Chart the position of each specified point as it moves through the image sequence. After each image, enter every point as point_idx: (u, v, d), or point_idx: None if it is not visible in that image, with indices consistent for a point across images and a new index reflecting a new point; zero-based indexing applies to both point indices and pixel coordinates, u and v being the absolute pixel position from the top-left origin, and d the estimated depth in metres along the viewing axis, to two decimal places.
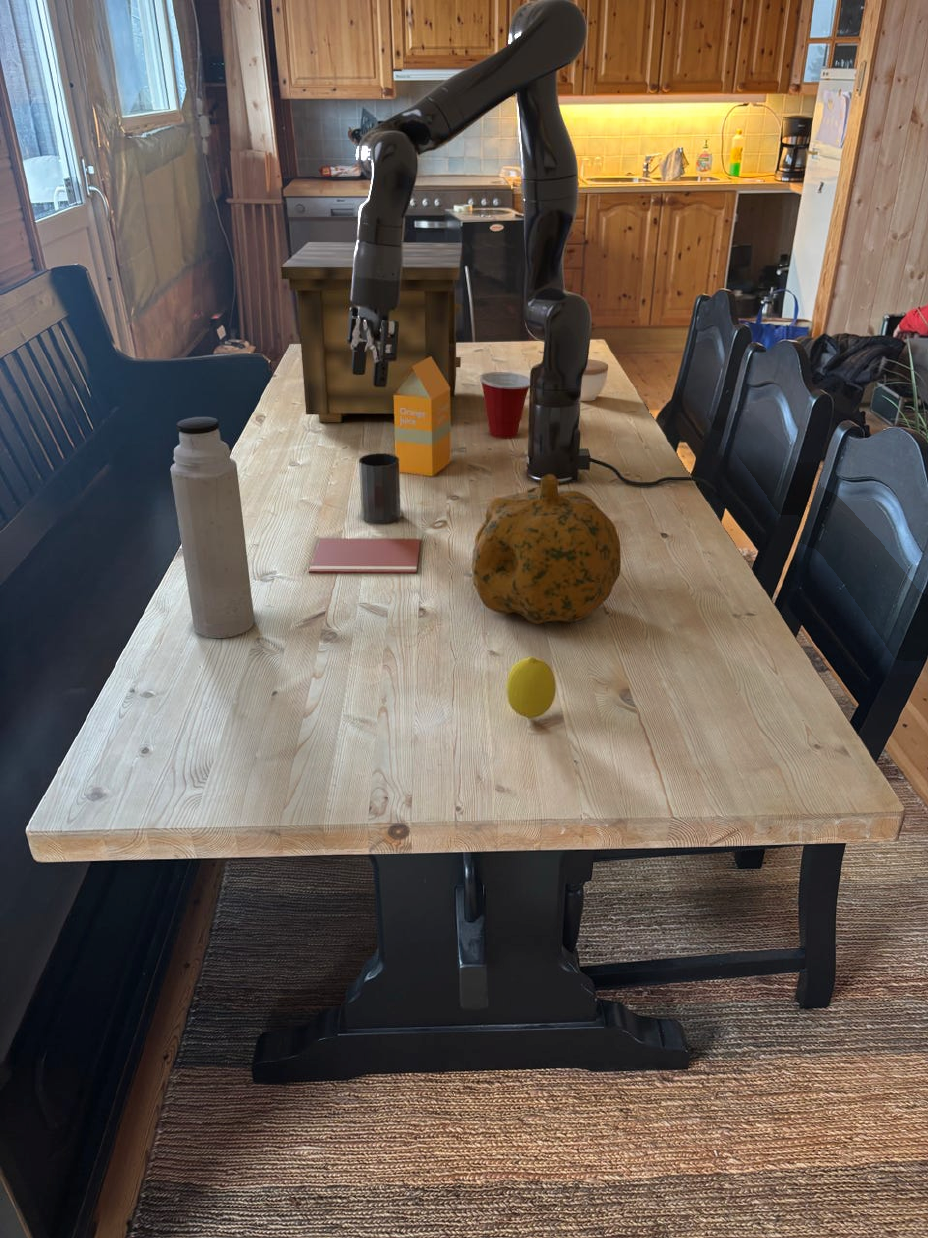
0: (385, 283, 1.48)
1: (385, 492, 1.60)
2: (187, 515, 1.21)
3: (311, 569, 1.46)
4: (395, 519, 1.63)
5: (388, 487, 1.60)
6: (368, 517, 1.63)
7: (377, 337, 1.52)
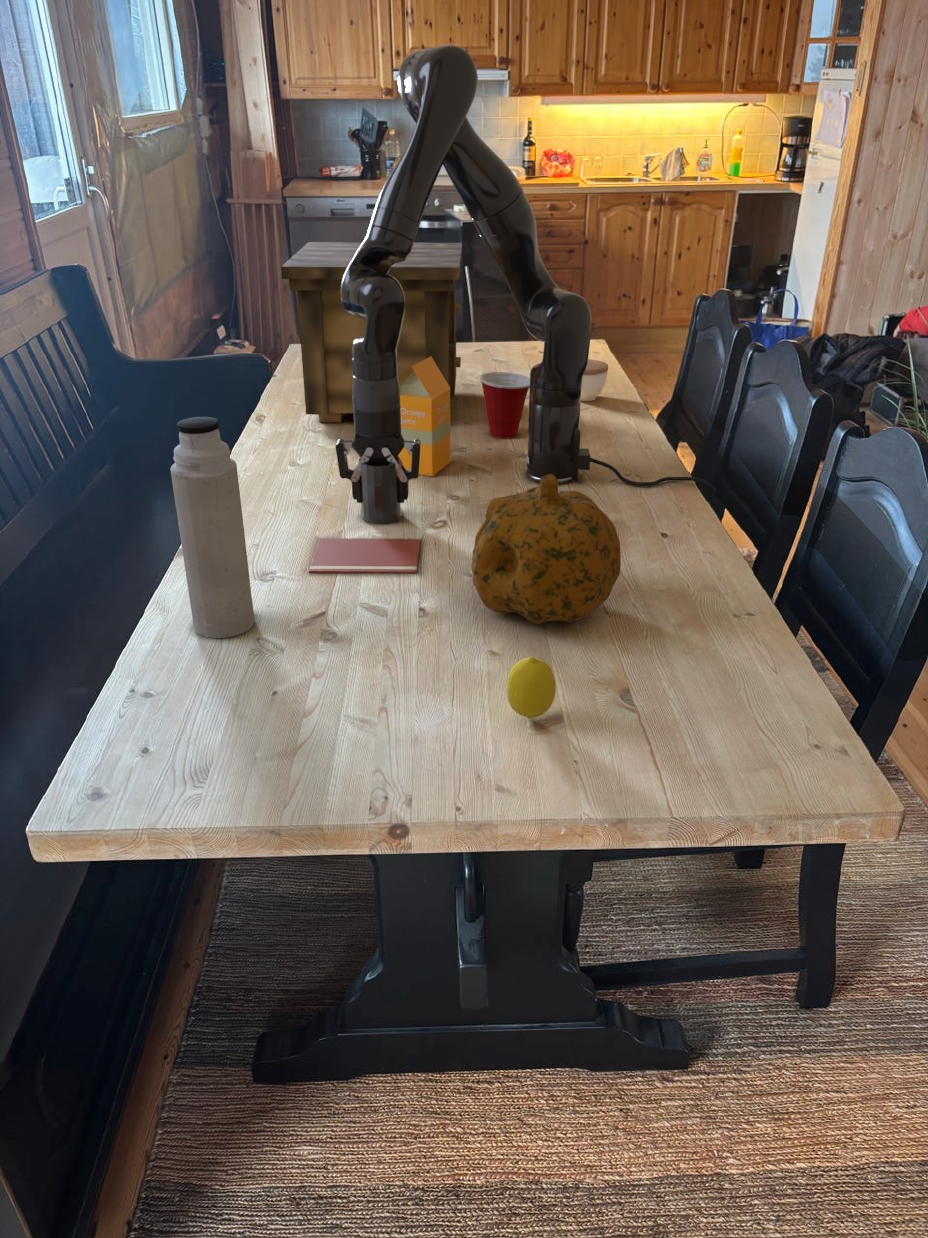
0: None
1: (385, 492, 1.60)
2: (187, 515, 1.21)
3: (311, 569, 1.46)
4: (395, 519, 1.63)
5: (388, 487, 1.60)
6: (368, 517, 1.63)
7: (396, 457, 1.60)
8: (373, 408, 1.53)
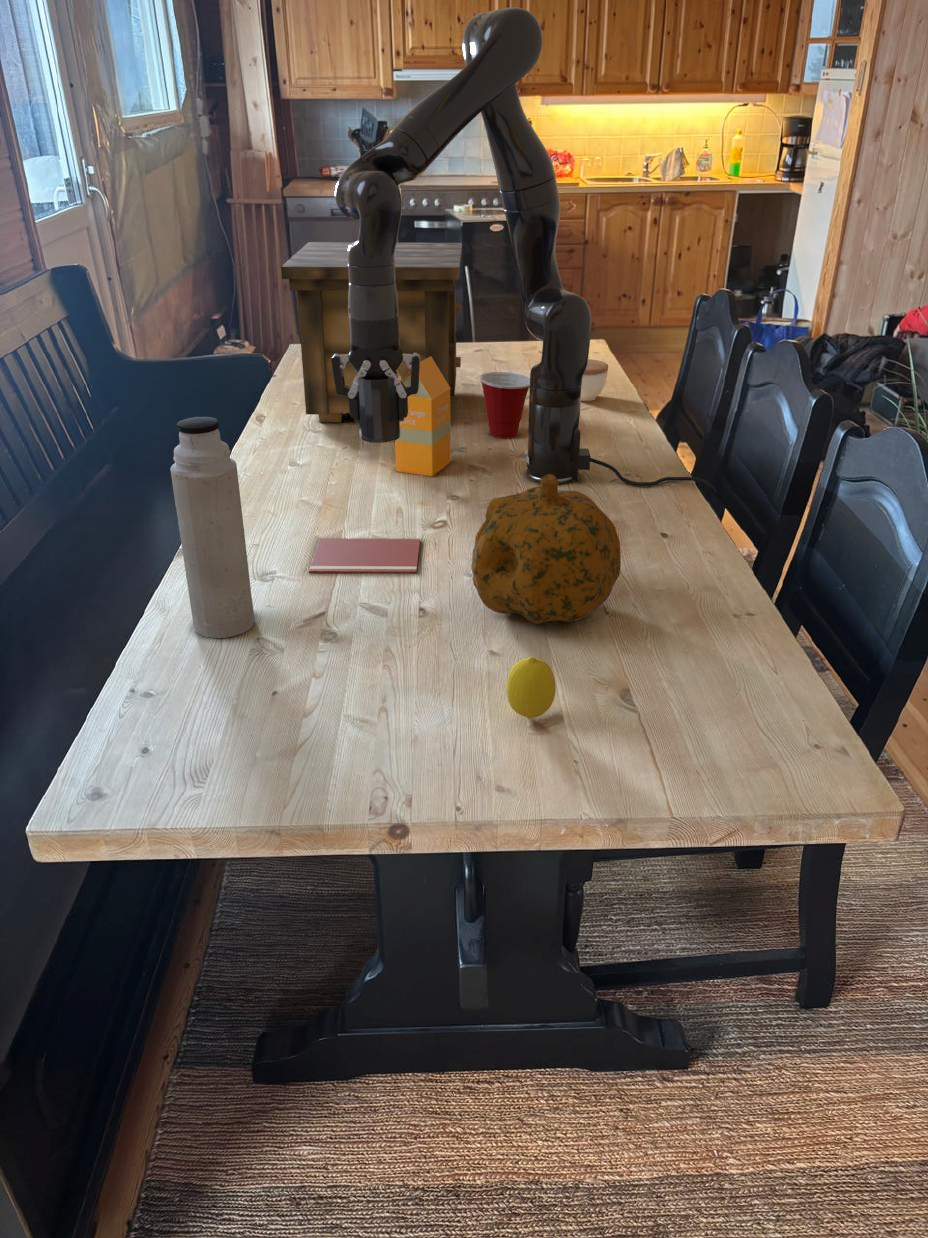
0: (398, 318, 1.49)
1: (383, 408, 1.53)
2: (187, 515, 1.21)
3: (311, 569, 1.46)
4: (394, 438, 1.57)
5: (387, 403, 1.53)
6: (366, 436, 1.56)
7: (394, 372, 1.53)
8: (370, 316, 1.46)
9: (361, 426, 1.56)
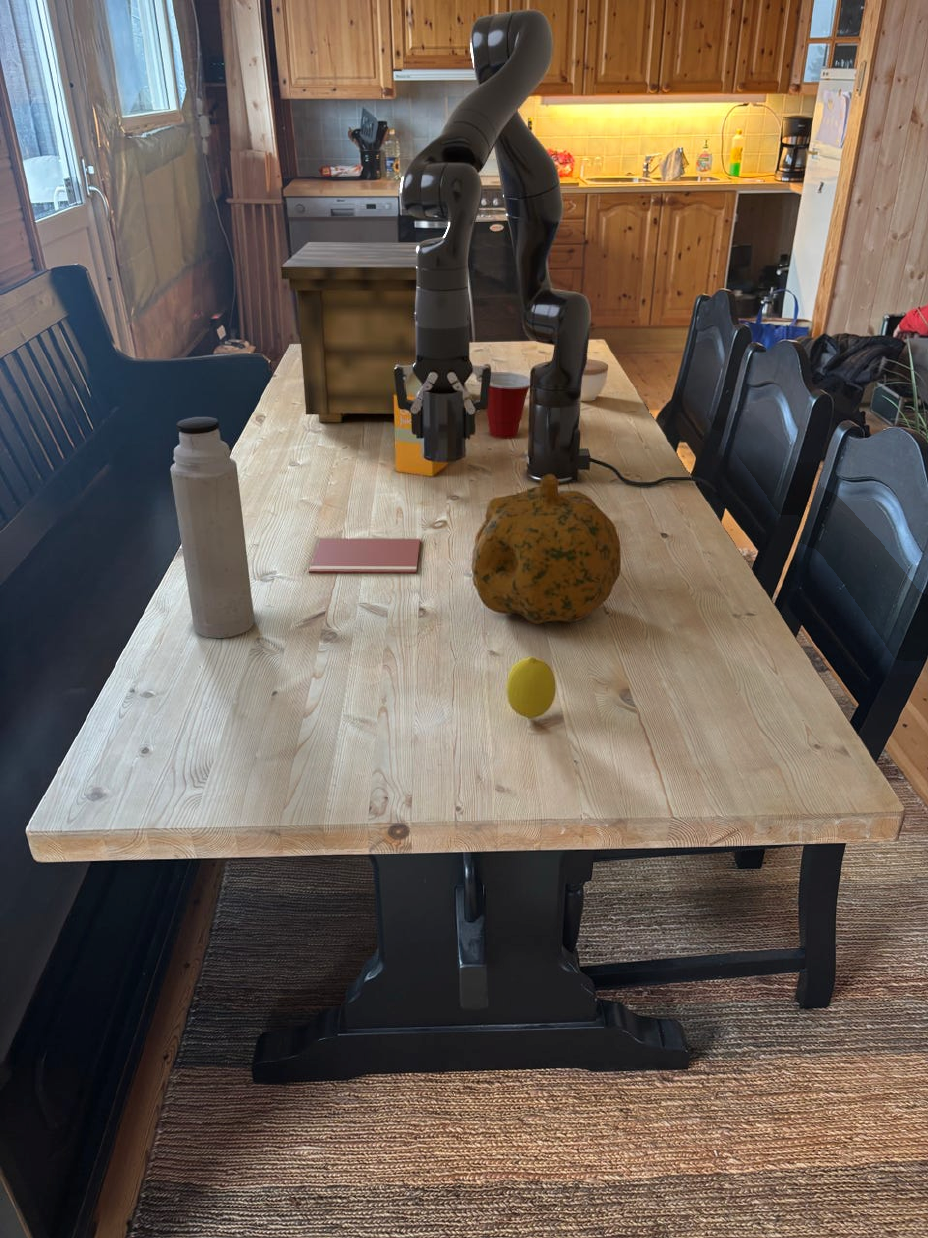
0: (469, 327, 1.36)
1: (450, 425, 1.39)
2: (187, 515, 1.21)
3: (311, 569, 1.46)
4: (460, 457, 1.43)
5: (454, 419, 1.39)
6: (429, 455, 1.42)
7: (462, 385, 1.39)
8: (440, 324, 1.32)
9: (424, 444, 1.42)
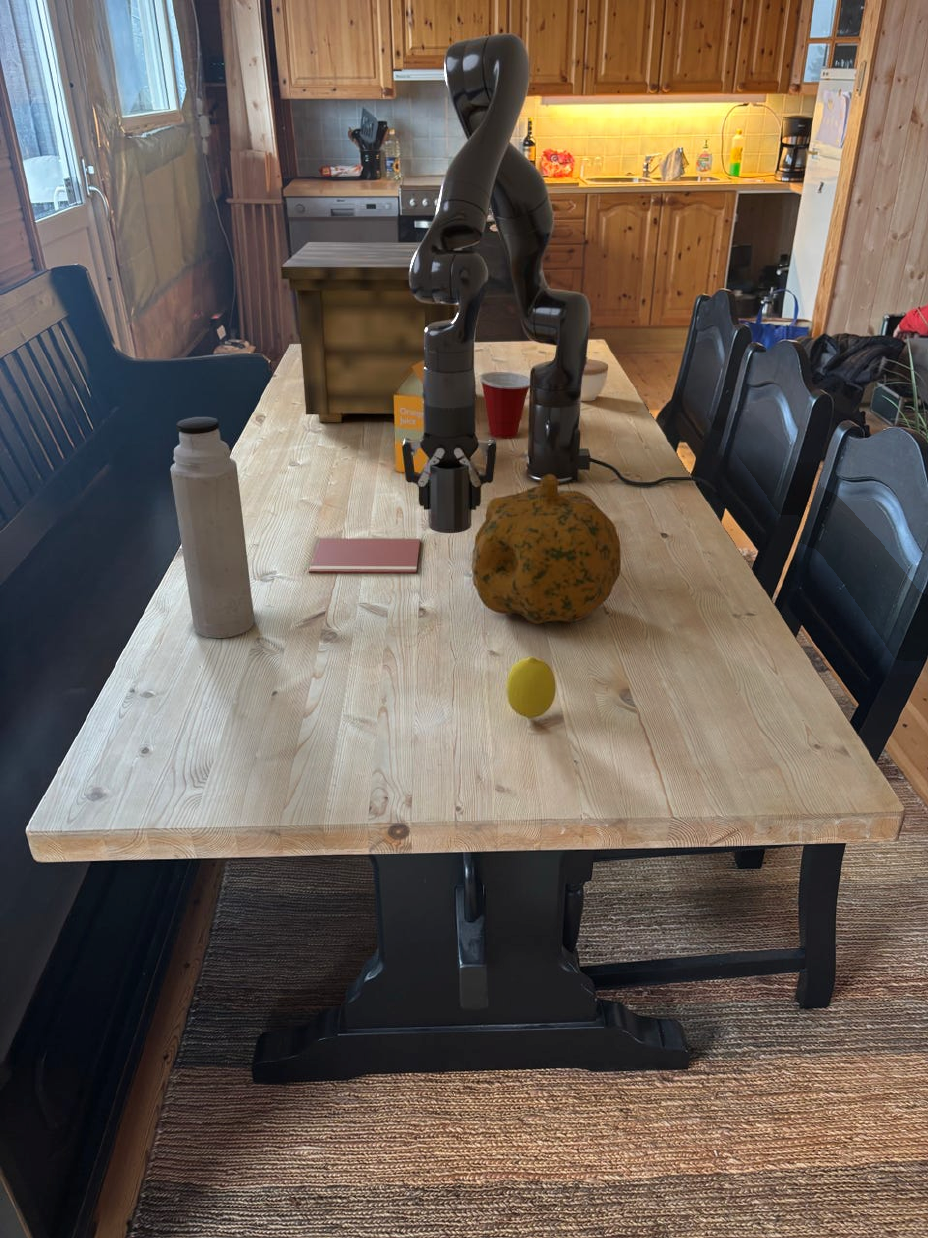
0: (475, 404, 1.40)
1: (457, 498, 1.43)
2: (187, 515, 1.21)
3: (311, 569, 1.46)
4: (466, 528, 1.47)
5: (460, 492, 1.43)
6: (436, 526, 1.46)
7: None
8: (447, 404, 1.36)
9: (431, 515, 1.46)
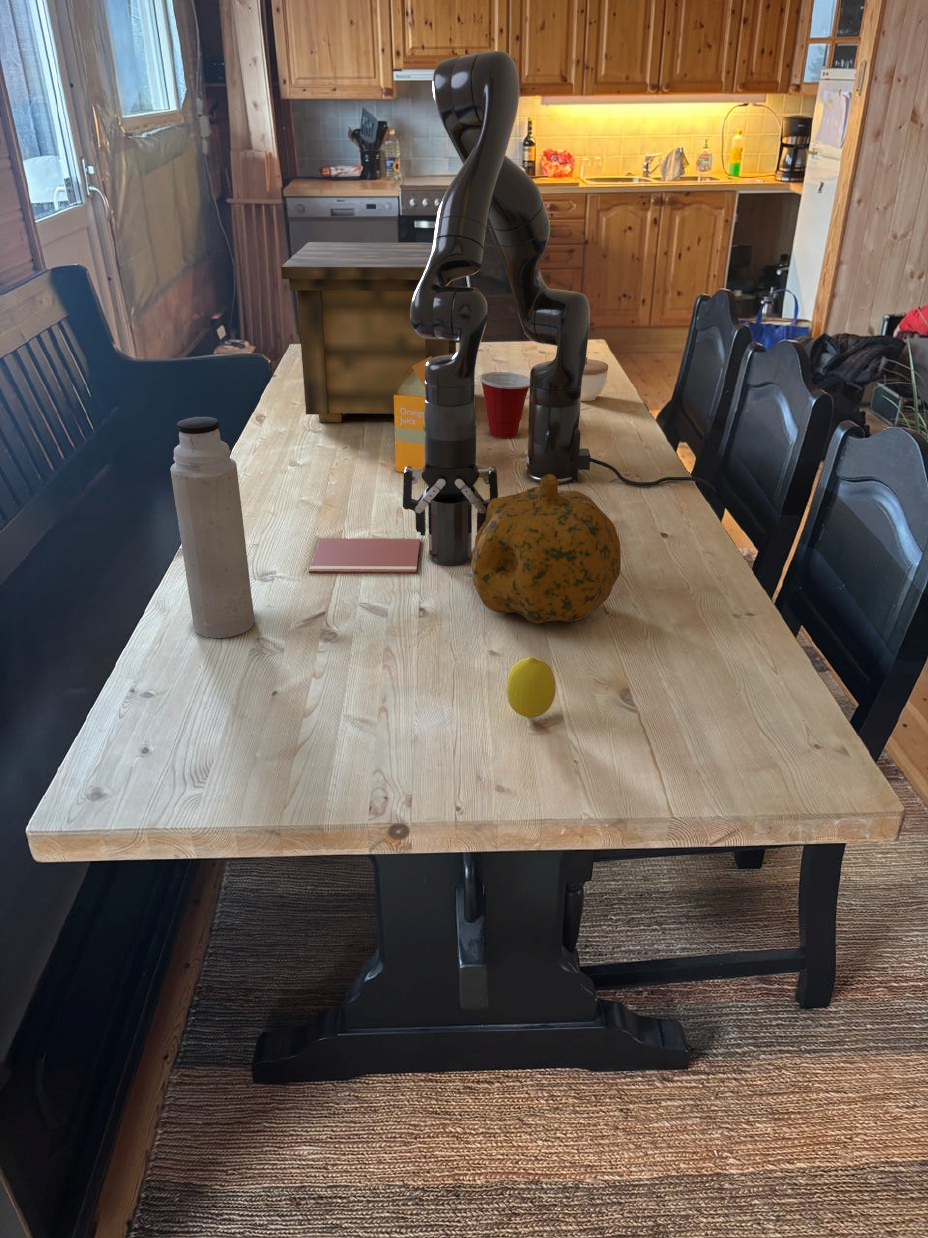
0: None
1: (457, 531, 1.46)
2: (187, 515, 1.21)
3: (311, 569, 1.46)
4: (466, 560, 1.49)
5: (461, 525, 1.46)
6: (437, 558, 1.48)
7: None
8: (448, 436, 1.38)
9: (432, 548, 1.49)
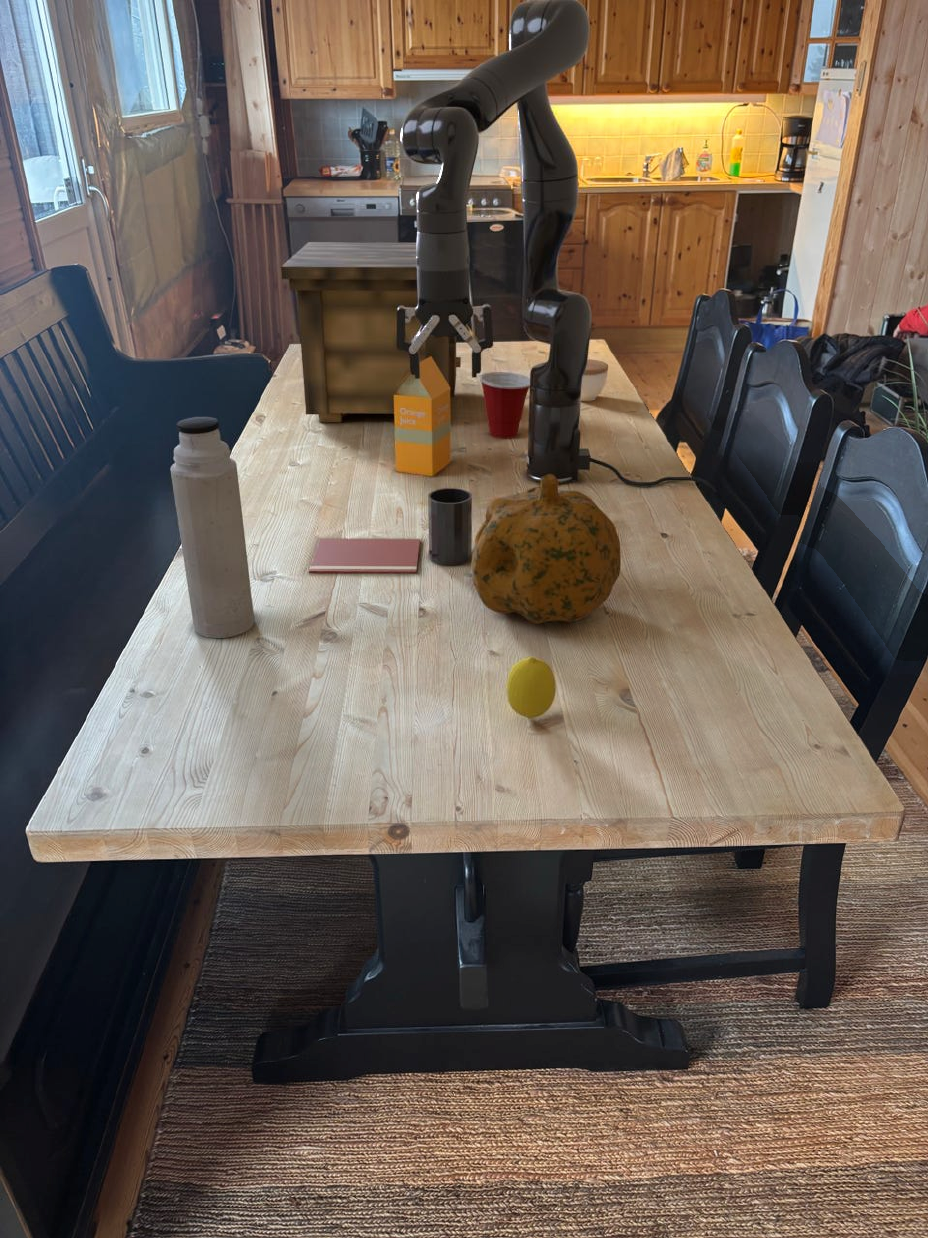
0: None
1: (457, 531, 1.46)
2: (187, 515, 1.21)
3: (311, 569, 1.46)
4: (466, 560, 1.49)
5: (461, 525, 1.46)
6: (437, 558, 1.48)
7: None
8: (441, 266, 1.37)
9: (432, 548, 1.49)
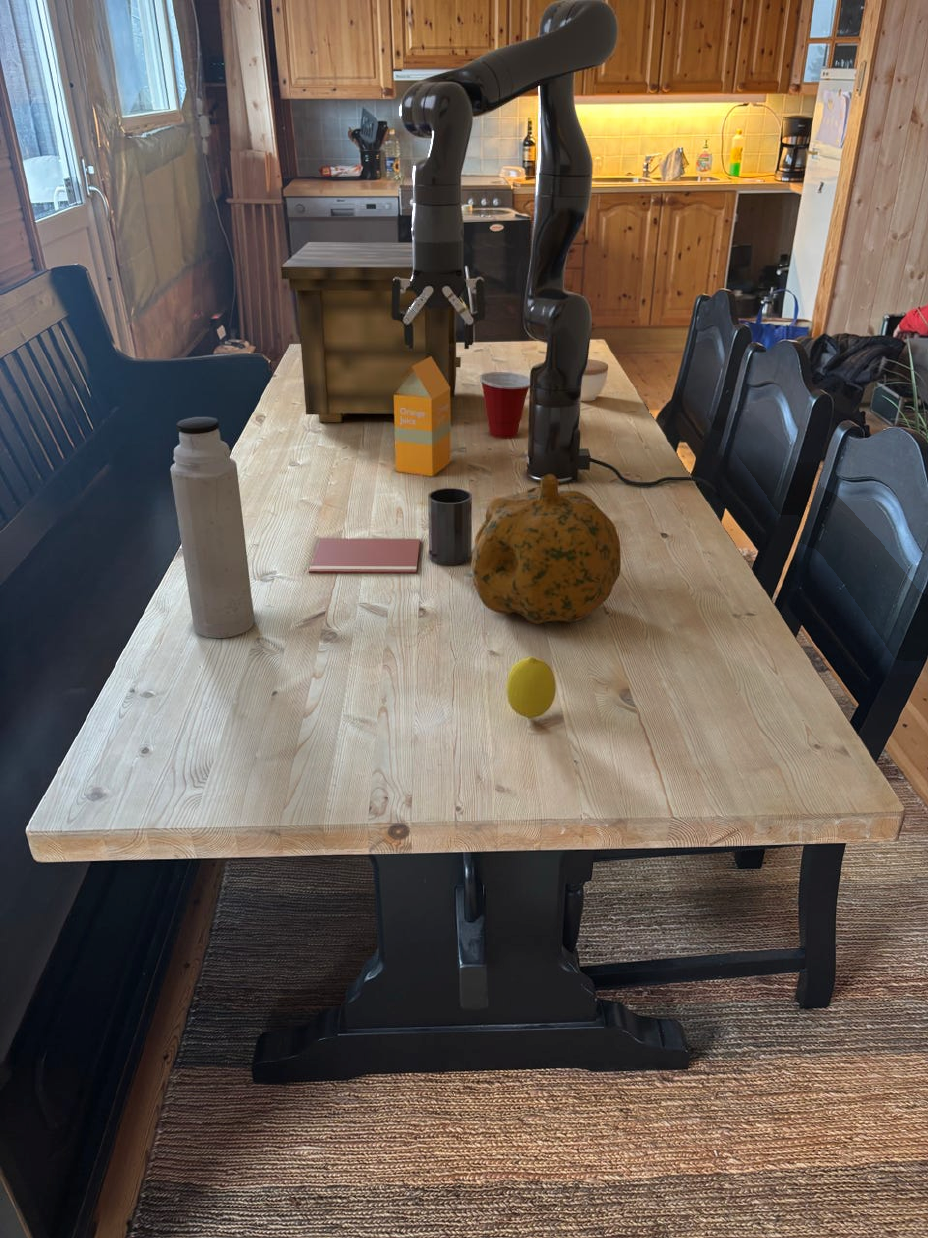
0: None
1: (457, 531, 1.46)
2: (187, 515, 1.21)
3: (311, 569, 1.46)
4: (466, 560, 1.49)
5: (461, 525, 1.46)
6: (437, 558, 1.48)
7: None
8: (435, 238, 1.41)
9: (432, 548, 1.49)
